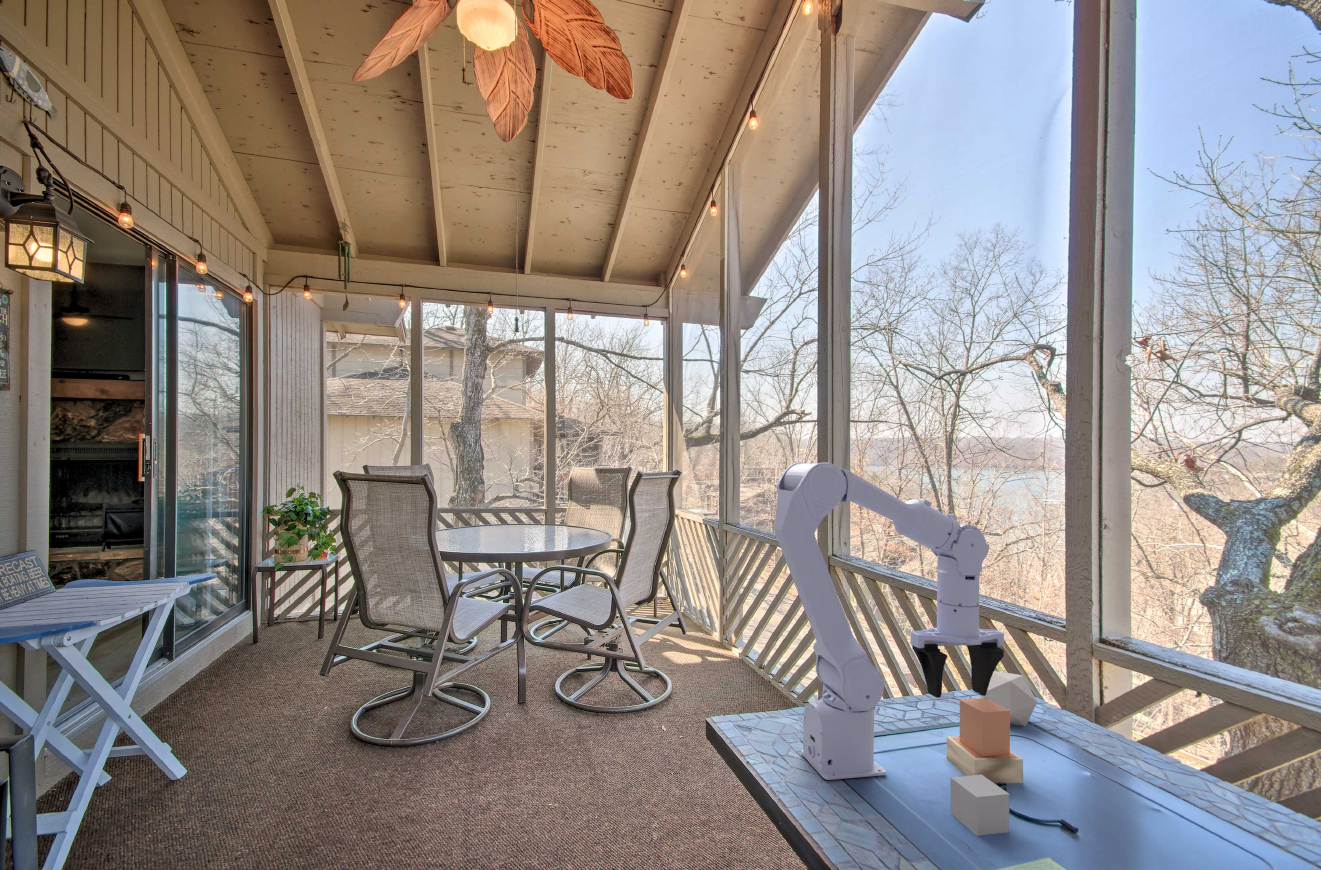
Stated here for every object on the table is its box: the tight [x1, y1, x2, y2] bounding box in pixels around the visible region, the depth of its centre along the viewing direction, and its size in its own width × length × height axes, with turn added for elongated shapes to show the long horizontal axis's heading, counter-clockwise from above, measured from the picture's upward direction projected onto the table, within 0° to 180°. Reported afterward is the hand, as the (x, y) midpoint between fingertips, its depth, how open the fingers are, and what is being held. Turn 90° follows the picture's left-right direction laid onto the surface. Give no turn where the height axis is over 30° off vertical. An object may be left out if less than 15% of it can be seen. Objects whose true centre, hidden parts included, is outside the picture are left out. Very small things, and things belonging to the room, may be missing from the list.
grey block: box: [950, 775, 1010, 837], centre depth 73 cm, size 4×4×4 cm
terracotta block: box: [959, 697, 1011, 756], centre depth 86 cm, size 4×4×6 cm
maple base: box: [945, 735, 1024, 784], centre depth 86 cm, size 7×7×4 cm
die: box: [978, 670, 1038, 728], centre depth 103 cm, size 8×9×10 cm
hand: (957, 694), depth 89 cm, fingers open, 7 cm apart
